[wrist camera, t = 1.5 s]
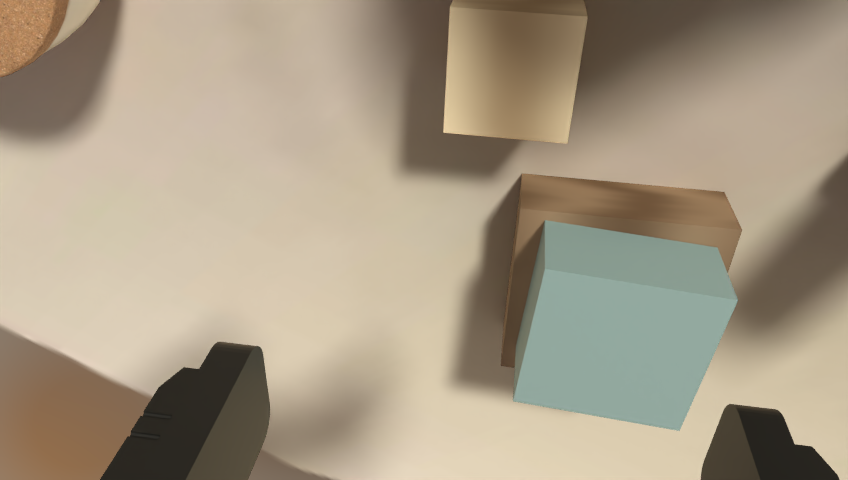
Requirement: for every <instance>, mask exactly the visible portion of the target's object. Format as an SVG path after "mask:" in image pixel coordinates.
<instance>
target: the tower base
mask: <svg viewBox="0 0 848 480" xmlns="http://www.w3.org/2000/svg"><path fill="white" fill-rule="evenodd" d="M545 220H547V221H554V222H560V223H566V224H573V225H579V226H585V227H591V228H598V229H604V230H610V231H617V232H623V233H629V234H635V235H642V236H648V237H654V238H661V239H667V240H673V241H679V242H686V243H692V244H698V245H705V246H711V247H717V248H718V250H719V253H720V255H721V258H722V260H723V263H724V265H725V268H726V271H727V273H728V270H729V267H730V264H731V261H732V258H733V255H734V252H735V249H736V247H737V244H738V241H739V238H740V235H741V232H742V229H741V227H740V225H739V222H738V220H737V218H736V216H735V214H734V212H733V210H732V208H731V205H730V203H729V201H728V199H727V197H726V195H725V193H724V192H718V191H707V190H696V189H685V188H674V187H663V186H652V185H641V184H630V183H619V182H608V181H597V180H586V179H575V178H564V177H553V176H543V175H532V174H522V178H521V186H520V194H519V202H518V211H517V219H516V227H515V235H514V243H513V251H512V260H511V268H510V276H509V284H508V292H507V301H506V309H505V317H504V326H503V341H502V356H501V366H506V367H515V353H516V344H517V339H518V335H519V331H520V326H521V322H522V318H523V313H524V309H525V304H526V300H527V296H528V291H529V287H530V283H531V278H532V274H533V270H534V265H535V261H536V257H537V252H538V248H539V244H540V239H541V235H542V231H543V226H544V222H545Z"/></svg>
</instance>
